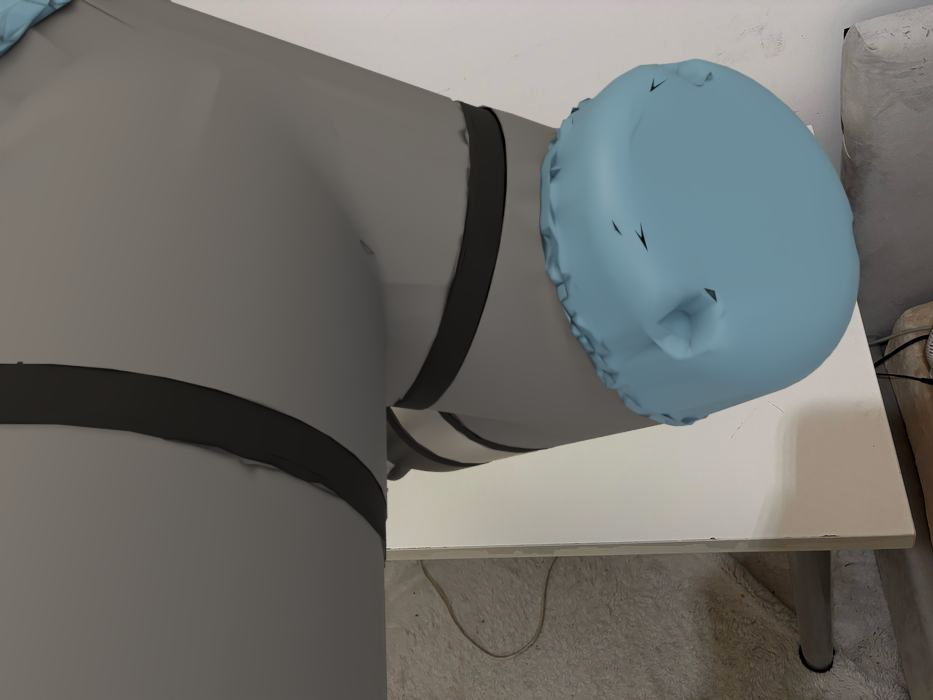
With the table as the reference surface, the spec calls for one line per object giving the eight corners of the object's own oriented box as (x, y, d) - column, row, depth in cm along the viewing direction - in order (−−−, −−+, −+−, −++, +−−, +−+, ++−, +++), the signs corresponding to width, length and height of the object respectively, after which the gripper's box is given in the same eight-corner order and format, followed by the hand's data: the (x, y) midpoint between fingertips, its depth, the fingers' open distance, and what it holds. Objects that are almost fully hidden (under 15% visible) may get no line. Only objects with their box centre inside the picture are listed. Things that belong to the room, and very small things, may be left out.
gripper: (466, 565, 24) (343, 547, 45) (594, 308, 29) (431, 400, 50) (299, 460, 22) (253, 493, 43) (465, 211, 28) (353, 347, 49)
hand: (349, 443), depth 47 cm, fingers closed
